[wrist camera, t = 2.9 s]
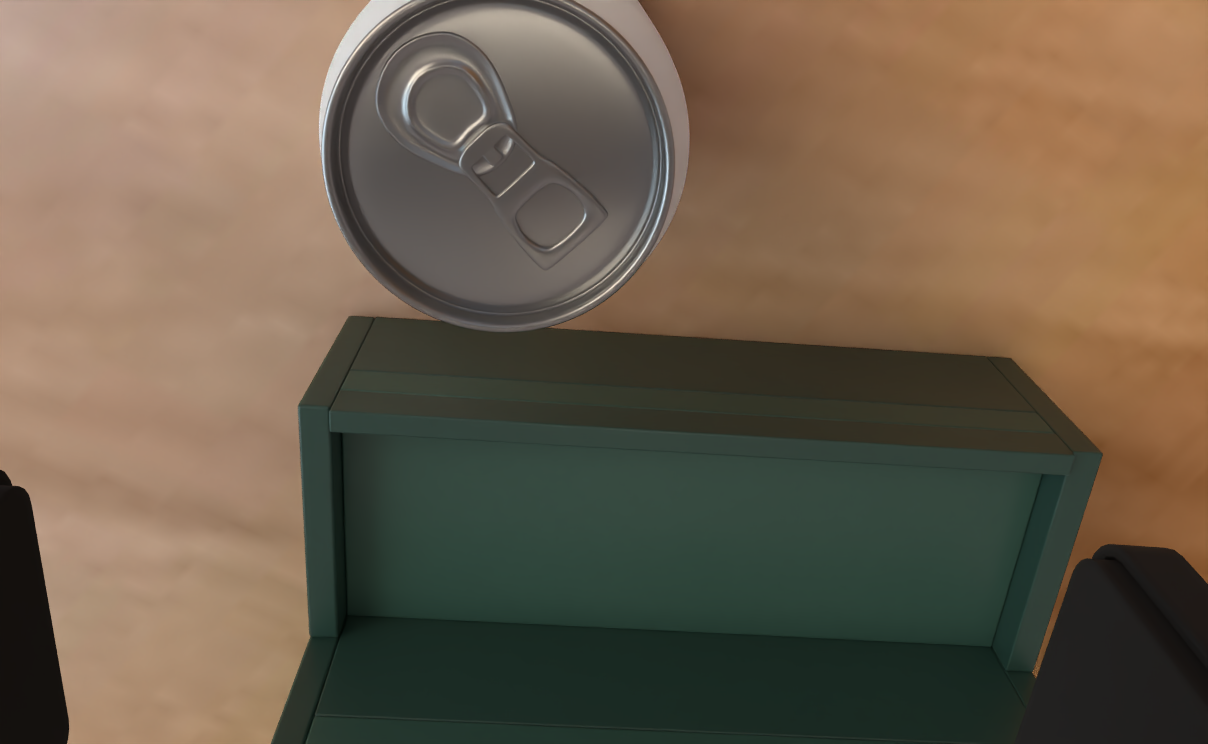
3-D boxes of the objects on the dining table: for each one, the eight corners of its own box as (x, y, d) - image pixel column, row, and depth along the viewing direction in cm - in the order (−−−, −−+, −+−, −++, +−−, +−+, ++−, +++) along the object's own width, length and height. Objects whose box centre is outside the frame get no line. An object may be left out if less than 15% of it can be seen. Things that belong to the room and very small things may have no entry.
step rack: (348, 314, 30) (232, 518, 20) (1011, 357, 31) (1218, 572, 21) (360, 750, 37) (278, 1064, 27) (900, 773, 38) (1015, 1083, 28)
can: (534, -127, 25) (501, -155, 14) (701, 73, 27) (785, 183, 16) (357, 56, 27) (206, 156, 16) (527, 230, 29) (497, 426, 18)
